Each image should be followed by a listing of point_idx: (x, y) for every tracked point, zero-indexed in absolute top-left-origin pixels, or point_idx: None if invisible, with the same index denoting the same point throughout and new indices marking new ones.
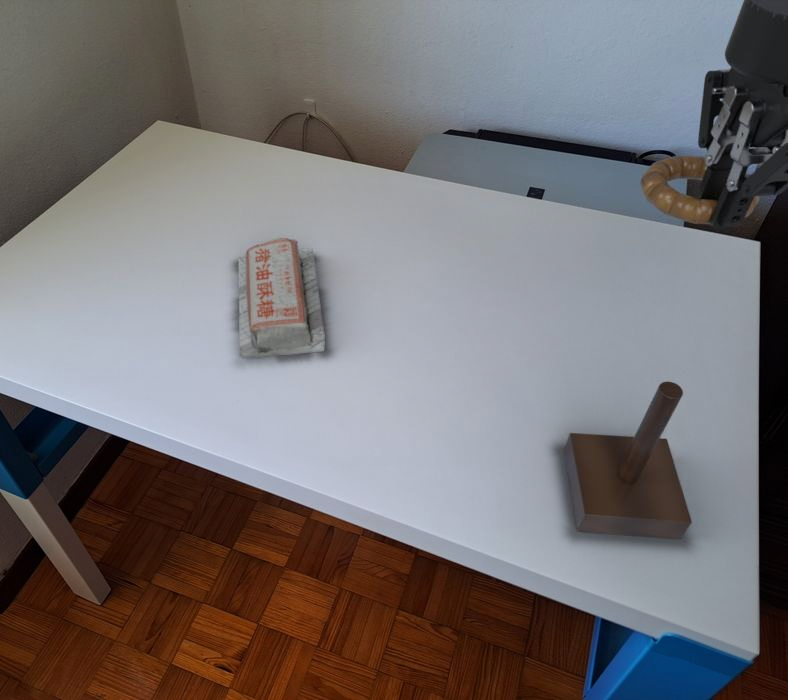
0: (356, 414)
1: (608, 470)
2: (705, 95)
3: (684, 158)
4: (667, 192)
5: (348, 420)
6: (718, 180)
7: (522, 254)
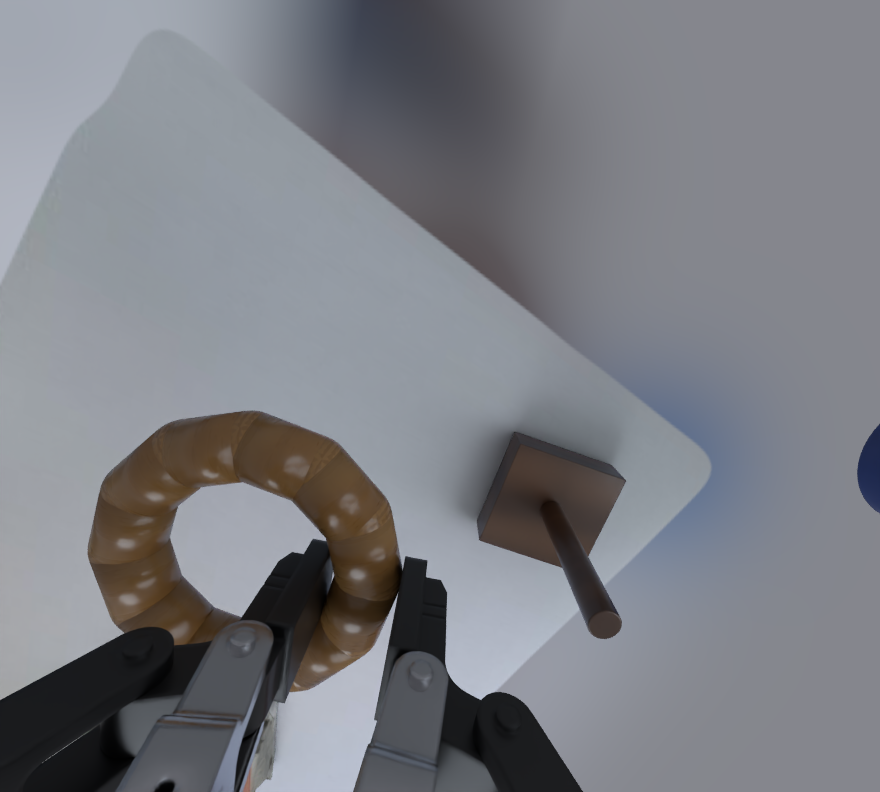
0: (373, 687)
1: (539, 527)
2: None
3: (112, 559)
4: None
5: None
6: (301, 643)
7: (126, 415)
